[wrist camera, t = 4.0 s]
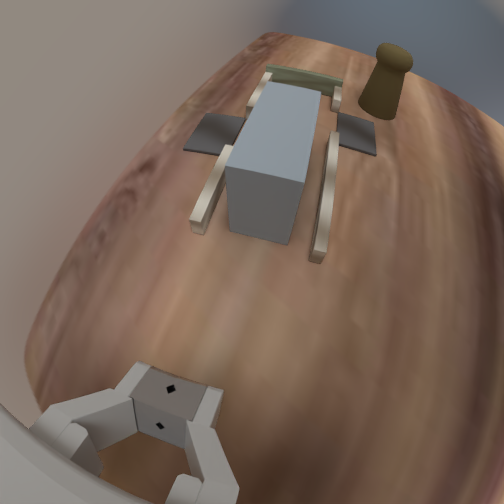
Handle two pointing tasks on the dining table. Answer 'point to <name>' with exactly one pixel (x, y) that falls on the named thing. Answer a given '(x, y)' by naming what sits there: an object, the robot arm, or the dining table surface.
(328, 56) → the dining table surface
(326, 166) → the lane
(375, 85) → the cork
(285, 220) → the grey brick
